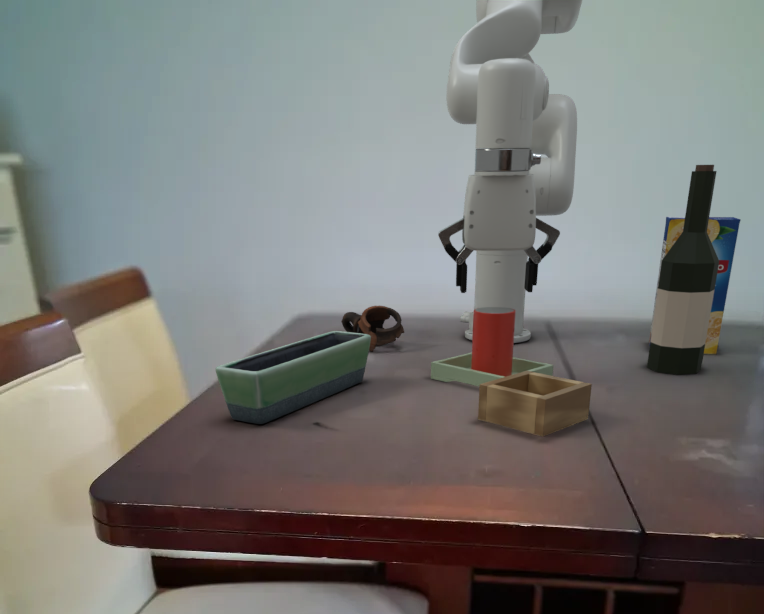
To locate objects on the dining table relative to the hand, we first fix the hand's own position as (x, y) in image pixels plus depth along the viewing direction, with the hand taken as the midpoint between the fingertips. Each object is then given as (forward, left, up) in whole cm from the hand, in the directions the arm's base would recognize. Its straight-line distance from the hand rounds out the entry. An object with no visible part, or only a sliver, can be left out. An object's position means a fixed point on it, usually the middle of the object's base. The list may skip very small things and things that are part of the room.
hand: (495, 291), depth 110 cm
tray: (0, -1, -13) cm, 13 cm away
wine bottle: (+17, +26, -13) cm, 34 cm away
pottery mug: (-31, +4, -13) cm, 34 cm away
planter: (-12, -28, -13) cm, 33 cm away
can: (+1, -1, -13) cm, 13 cm away
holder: (+18, -14, -13) cm, 26 cm away
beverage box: (+11, +41, -13) cm, 44 cm away
